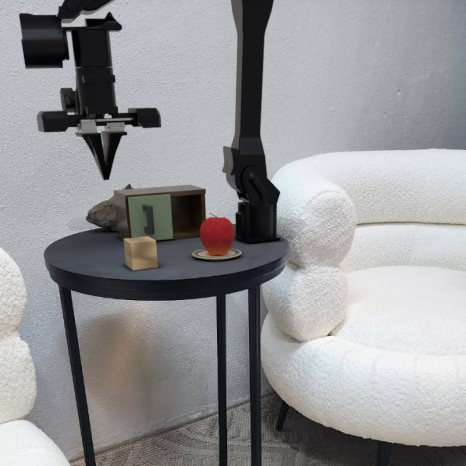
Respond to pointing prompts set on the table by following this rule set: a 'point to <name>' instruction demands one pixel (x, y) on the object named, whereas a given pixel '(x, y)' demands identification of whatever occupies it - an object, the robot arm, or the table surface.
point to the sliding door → (151, 216)
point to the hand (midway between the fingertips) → (105, 179)
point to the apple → (216, 239)
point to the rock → (105, 213)
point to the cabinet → (182, 208)
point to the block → (140, 253)
